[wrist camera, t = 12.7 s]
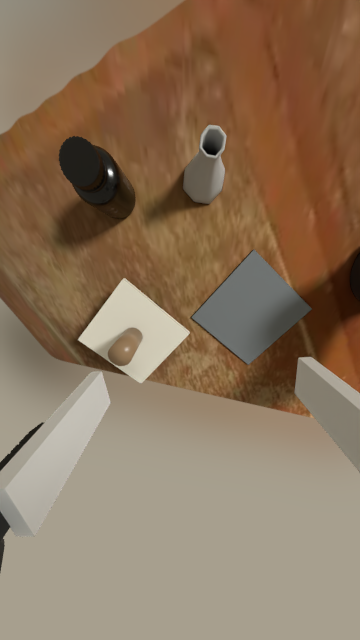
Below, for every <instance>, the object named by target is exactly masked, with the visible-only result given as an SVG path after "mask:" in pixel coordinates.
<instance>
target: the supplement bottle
mask: <svg viewBox="0 0 360 640" xmlns="http://www.w3.org/2000/svg"><path fill="white" fill-rule="evenodd" d="M59 161H60V166H61V170H62V171H63V174H64V175H65V176H66V178H67V179H68V180H69V181H70V182H71V183H72V185H73V187H74V189H75V191H76V192H77V194H78V195H79V196H80V197H81V198H82V199H83V200H84V201H85V202H87V203H88V204H90V205H91V206H93V207H95V208H97V209H98V210H100V211H102V212H103V213H105V214H107V215H108V216H110V217H113V218H116V219H121V218H125V217H127V216H128V215H129V214H130V213H131V212H132V211H133V209H134V206H135V192H134V189H133V187H132V185H131V183H130V182H129V180H128V179H127V177H126V176H125V174H124V173H123V171H122V170H121V169H120V167H119V166H118V164H117V163H116V161H115V160H114V159H113V157H112V156H111V155H110V154H109V153H108V152H107V151H106V150H104V149H103V148H101V147H98V146H95V145H92V144H91V143H90V142H88V141H87V140H86V139H83V138H82V137H78V136H76V137H75V136H73V137H69V139H66V141H65V142H63V145H62V146H61V149H60V153H59Z"/></svg>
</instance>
